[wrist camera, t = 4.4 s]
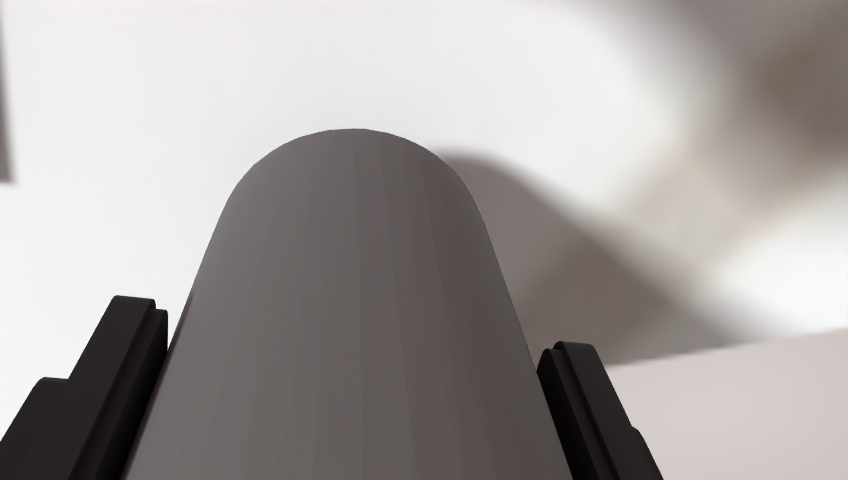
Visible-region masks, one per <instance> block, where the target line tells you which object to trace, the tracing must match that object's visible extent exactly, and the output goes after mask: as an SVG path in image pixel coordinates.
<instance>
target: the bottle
mask: <svg viewBox="0 0 848 480" xmlns="http://www.w3.org/2000/svg"><path fill="white" fill-rule="evenodd" d="M118 480H573V478H572V475H571V472H570V470H569V467H568V464H567V461H566V458H565V455H564V452H563V449H562V446H561V443H560V440H559V437H558V434H557V431H556V428H555V425H554V422H553V419H552V416H551V413H550V411H549V408H548V405H547V402H546V399H545V396H544V393H543V390H542V387H541V384H540V381H539V378H538V375H537V373H536V370H535V367H534V364H533V361H532V358H531V355H530V353H529V350H528V347H527V344H526V341H525V338H524V335H523V333H522V330H521V327H520V324H519V321H518V318H517V315H516V313H515V310H514V307H513V304H512V301H511V298H510V295H509V293H508V290H507V287H506V284H505V281H504V278H503V275H502V273H501V270H500V267H499V264H498V261H497V258H496V255H495V253H494V250H493V247H492V244H491V241H490V238H489V235H488V233H487V230H486V227H485V224H484V222H483V220H482V217H481V215H480V213H479V211H478V209H477V206H476V204H475V202H474V200H473V198H472V195H471V194H470V192H469V190H468V189H467V187H466V186H465V184H464V183H463V182H462V180H461V179H460V178H459V177H458V175H457V174H456V173H455V172H454V171H453V170H452V169H451V168H450V167H449V166H447V165H446V164H445V163H444V162H443V161H442V160H441V159H439V158H438V157H437V156H436V155H434V154H433V153H431V152H430V151H428V150H427V149H425V148H424V147H422V146H420V145H418V144H416V143H414V142H412V141H409V140H407V139H405V138H402V137H399V136H395V135H392V134H389V133H385V132H379V131H374V130H368V129H339V130H327V131H323V132H318V133H314V134H310V135H306V136H303V137H299V138H297V139H295V140H292V141H290V142H288V143H286V144H283V145H282V146H280V147H278V148H277V149H275V150H273V151H272V152H270V153H269V154H268V155H266V156H265V157H264V158H262V159H261V160H260V161H258V162H257V163H256V164H255V165H253V166H252V168H251V169H250V170H249V171H248V172H247V173H246V174H245V175H244V176H243V178H242V179H241V180H240V181H239V183H238V184H237V185H236V187H235V189H234V190H233V192H232V193H231V195H230V197H229V198H228V200H227V203H226V205H225V207H224V209H223V211H222V213H221V216H220V218H219V220H218V223H217V225H216V228H215V230H214V232H213V235H212V237H211V240H210V242H209V245H208V247H207V249H206V252H205V254H204V257H203V260H202V262H201V265H200V267H199V270H198V273H197V275H196V278H195V280H194V283H193V286H192V288H191V291H190V293H189V296H188V299H187V301H186V304H185V307H184V309H183V312H182V314H181V317H180V320H179V322H178V325H177V327H176V330H175V333H174V335H173V338H172V341H171V343H170V346H169V348H168V351H167V354H166V356H165V359H164V362H163V364H162V367H161V369H160V372H159V375H158V377H157V380H156V382H155V385H154V388H153V390H152V393H151V396H150V398H149V401H148V403H147V406H146V409H145V411H144V414H143V417H142V419H141V422H140V424H139V427H138V430H137V432H136V435H135V437H134V440H133V443H132V445H131V448H130V451H129V453H128V456H127V458H126V461H125V464H124V466H123V469H122V472H121V474H120V477H119V479H118Z"/></svg>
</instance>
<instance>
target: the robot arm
mask: <svg viewBox="0 0 848 480" xmlns="http://www.w3.org/2000/svg"><path fill="white" fill-rule="evenodd" d="M167 350H168V312H167V310H162V309H156V304H155V300H154V299H148V298H138V297H128V296H119V295H116V296H114V297H113V299H112V300H111V302H110V304H109V306H108V307H107V309H106V311H105V313H104V315H103V316H102V318H101V320H100V322H99V324H98V326H97V327H96V329H95V331H94V333H93V335H92V336H91V338H90V340H89V342H88V344H87V346H86V347H85V349H84V351H83V353H82V355H81V356H80V358H79V360H78V362H77V364H76V366H75V367H74V369H73V371H72V373H71V375H70V376H69V378H68V379H62V378H50V377H43V378H42V379H40V380H39V381H38V382H37V383H36V385H35V386H34V387H33V389H32V390H31V392H30V394H29V395H28V397H27V399H26V400H25V402H24V403H23V405H22V407H21V408H20V410H19V412H18V413H17V415H16V417H15V418H14V420H13V422H12V423H11V425H10V427H9V428H8V430H7V432H6V433H5V435H4V436H3V438H2V440H1V441H0V480H118V479H119V477H120V474H121V472H122V469H123V466H124V464H125V461H126V458H127V456H128V453H129V451H130V448H131V445H132V443H133V440H134V437H135V435H136V432H137V430H138V427H139V424H140V422H141V419H142V417H143V414H144V411H145V409H146V406H147V403H148V401H149V398H150V396H151V393H152V390H153V388H154V385H155V382H156V380H157V377H158V375H159V372H160V369H161V367H162V364H163V362H164V359H165V356H166V354H167ZM536 373H537V375H538V378H539V381H540V384H541V387H542V390H543V393H544V396H545V399H546V402H547V405H548V408H549V411H550V413H551V416H552V419H553V422H554V425H555V428H556V431H557V434H558V437H559V440H560V443H561V446H562V449H563V452H564V455H565V458H566V461H567V464H568V467H569V470H570V472H571V475H572V478H573V480H663V477H662V475H661V473H660V471H659V469H658V467H657V465H656V463H655V461H654V459H653V457H652V455H651V453H650V450H649V448H648V447H647V444H646V442H645V441H644V438H643V437H642V435H641V434H640V432H639V431H638V430H637V429H636V428H634V427H632V426H631V423H630V421H629V419H628V417H627V415H626V413H625V410H624V408H623V406H622V404H621V402H620V400H619V398H618V396H617V394H616V392H615V390H614V388H613V385H612V383H611V381H610V379H609V377H608V375H607V373H606V371H605V369H604V366H603V364H602V362H601V360H600V358H599V356H598V354H597V352H596V350H595V348H594V347H593V346H592V345H590V344H583V343H573V342H564V341H559V342H557V343H556V344H555V345H554V347H553V349H545V350H544V351H543V353H542V355H541V358H540V361H539V364H538V368H537V371H536Z"/></svg>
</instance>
